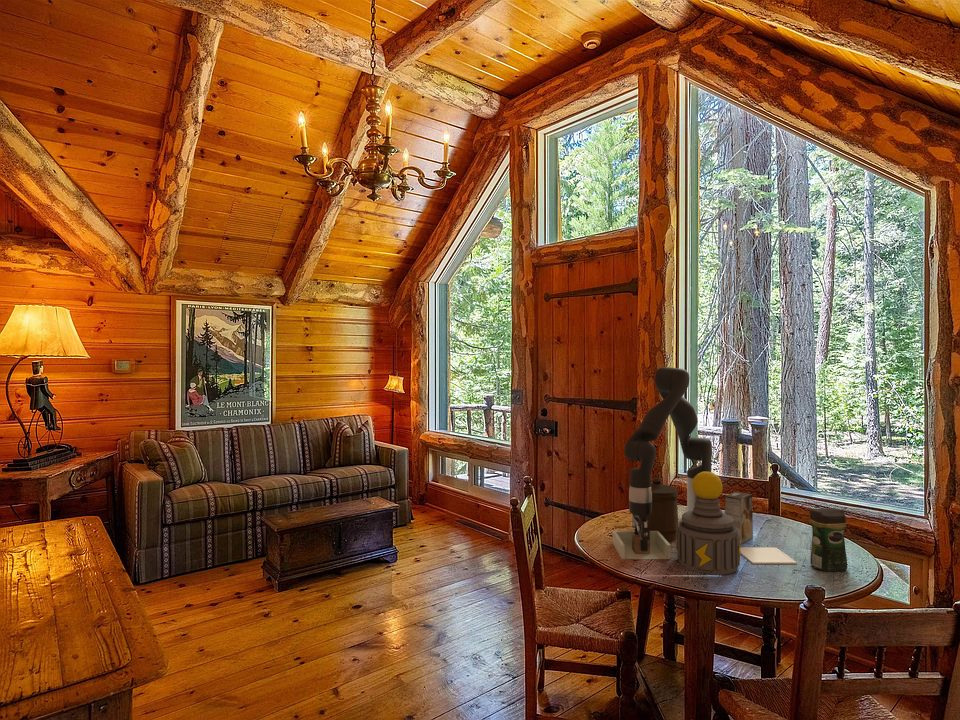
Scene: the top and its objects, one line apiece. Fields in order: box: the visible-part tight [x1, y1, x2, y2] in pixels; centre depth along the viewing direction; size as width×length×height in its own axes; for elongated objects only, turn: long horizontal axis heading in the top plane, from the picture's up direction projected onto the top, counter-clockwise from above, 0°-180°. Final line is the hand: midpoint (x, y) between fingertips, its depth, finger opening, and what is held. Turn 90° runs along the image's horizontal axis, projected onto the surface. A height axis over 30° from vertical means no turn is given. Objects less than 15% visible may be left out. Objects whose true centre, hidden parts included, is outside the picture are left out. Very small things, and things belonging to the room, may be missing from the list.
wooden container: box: [645, 476, 679, 543], centre depth 209 cm, size 15×15×22 cm
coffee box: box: [724, 491, 754, 544], centre depth 206 cm, size 9×6×16 cm
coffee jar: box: [809, 507, 848, 572], centre depth 177 cm, size 10×8×19 cm
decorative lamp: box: [675, 471, 741, 576], centre depth 180 cm, size 19×19×30 cm
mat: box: [740, 547, 798, 565], centre depth 188 cm, size 14×14×1 cm
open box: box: [612, 530, 672, 560], centre depth 193 cm, size 15×16×5 cm
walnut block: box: [632, 534, 650, 554], centre depth 192 cm, size 5×5×5 cm
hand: (640, 546), depth 192 cm, fingers open, 8 cm apart
